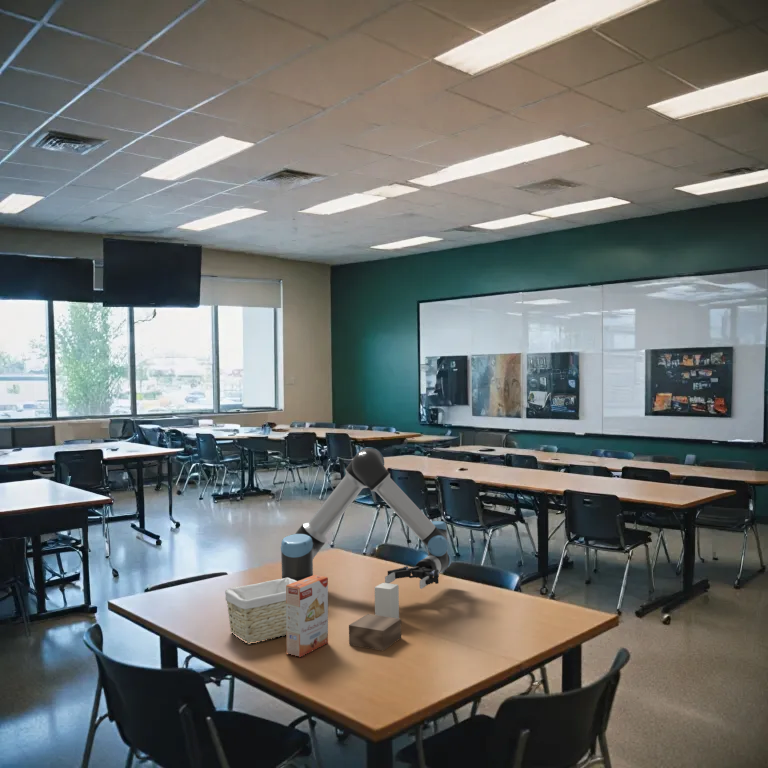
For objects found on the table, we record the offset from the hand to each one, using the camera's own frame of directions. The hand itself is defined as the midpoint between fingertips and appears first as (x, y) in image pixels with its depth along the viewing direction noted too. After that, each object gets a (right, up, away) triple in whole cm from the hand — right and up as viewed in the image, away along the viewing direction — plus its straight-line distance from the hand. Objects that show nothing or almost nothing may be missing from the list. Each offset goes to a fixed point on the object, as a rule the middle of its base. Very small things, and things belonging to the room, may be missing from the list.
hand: (402, 582), depth 249 cm
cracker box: (-30, -11, -33) cm, 46 cm away
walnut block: (-9, -10, -28) cm, 31 cm away
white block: (-6, -10, -9) cm, 15 cm away
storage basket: (-44, -11, -18) cm, 49 cm away
